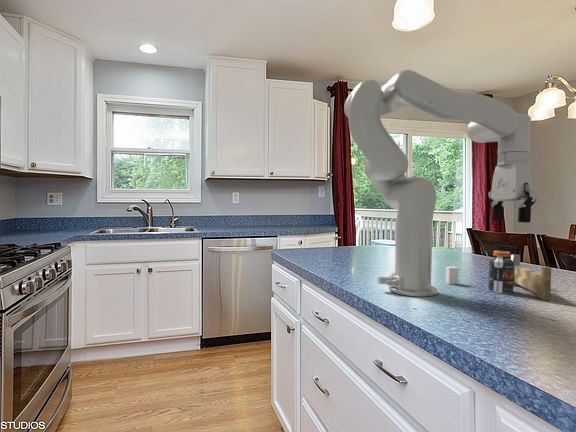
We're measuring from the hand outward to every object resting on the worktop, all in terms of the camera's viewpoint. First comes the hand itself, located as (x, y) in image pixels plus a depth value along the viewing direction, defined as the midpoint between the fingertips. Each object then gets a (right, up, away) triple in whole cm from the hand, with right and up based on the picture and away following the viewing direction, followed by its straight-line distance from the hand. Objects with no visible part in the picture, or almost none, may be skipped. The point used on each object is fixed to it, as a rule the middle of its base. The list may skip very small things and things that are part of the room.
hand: (510, 221), depth 98 cm
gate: (+5, -19, -1) cm, 20 cm away
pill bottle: (-3, -20, 0) cm, 20 cm away
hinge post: (+7, -19, +9) cm, 23 cm away
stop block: (-12, -19, +9) cm, 24 cm away
